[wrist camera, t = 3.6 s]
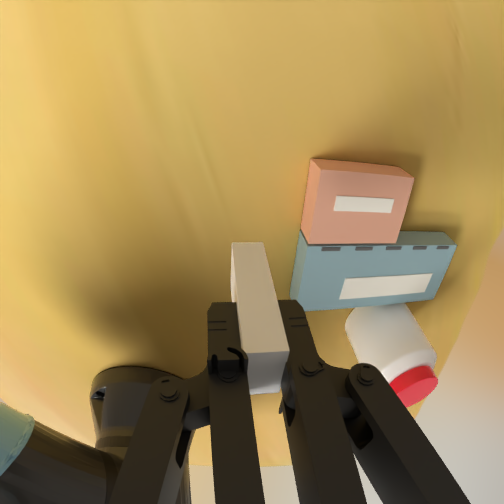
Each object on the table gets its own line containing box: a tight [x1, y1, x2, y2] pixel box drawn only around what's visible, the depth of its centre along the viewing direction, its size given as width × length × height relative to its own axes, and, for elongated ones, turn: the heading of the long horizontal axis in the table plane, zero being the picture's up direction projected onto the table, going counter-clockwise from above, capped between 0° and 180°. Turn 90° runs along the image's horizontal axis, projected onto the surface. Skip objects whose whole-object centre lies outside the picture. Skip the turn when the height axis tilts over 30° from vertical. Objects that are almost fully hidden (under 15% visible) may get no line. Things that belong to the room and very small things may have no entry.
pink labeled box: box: [301, 159, 414, 244], centre depth 24 cm, size 8×6×3 cm
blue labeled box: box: [289, 230, 457, 311], centre depth 29 cm, size 16×7×3 cm, turn 86°
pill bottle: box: [345, 303, 438, 407], centre depth 30 cm, size 8×8×11 cm
